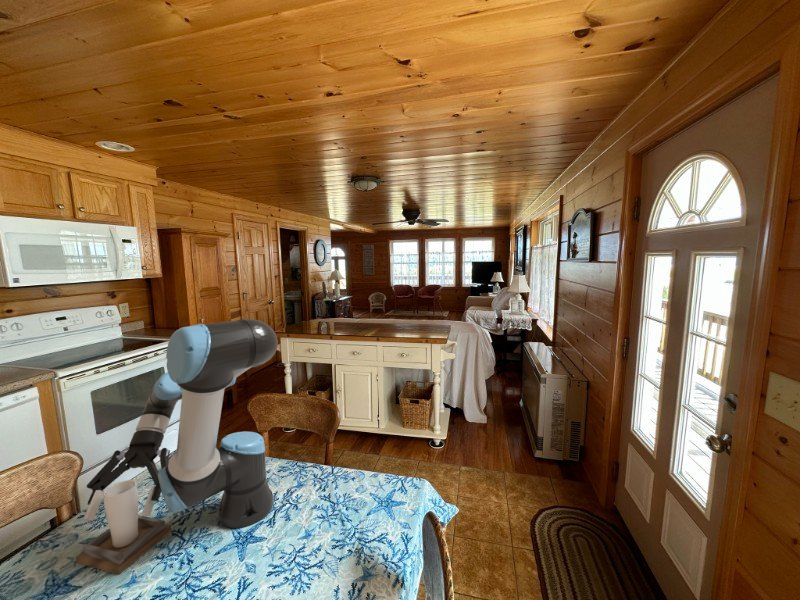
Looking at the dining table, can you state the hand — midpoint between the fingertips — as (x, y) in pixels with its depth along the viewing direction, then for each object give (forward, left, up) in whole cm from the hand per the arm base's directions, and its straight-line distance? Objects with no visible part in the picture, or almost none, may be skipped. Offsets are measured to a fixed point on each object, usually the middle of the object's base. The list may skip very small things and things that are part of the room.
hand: (117, 518), depth 85 cm
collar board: (+1, -2, -10) cm, 10 cm away
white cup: (+1, -2, -8) cm, 9 cm away
